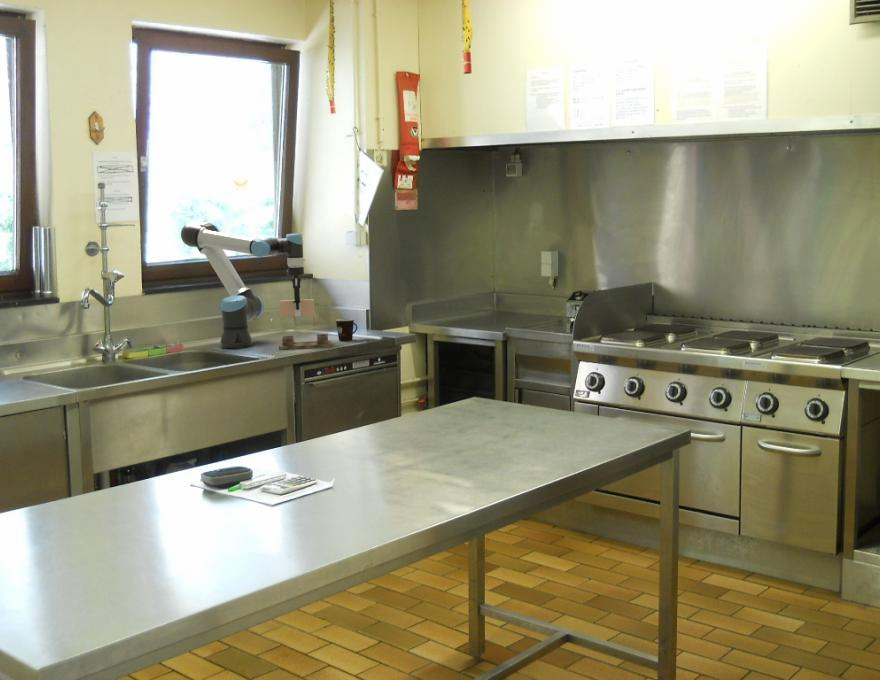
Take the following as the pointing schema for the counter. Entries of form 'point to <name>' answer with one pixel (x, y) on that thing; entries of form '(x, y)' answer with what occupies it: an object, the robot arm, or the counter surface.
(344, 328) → the coffee mug
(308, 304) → the clay bar
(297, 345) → the drying rack
